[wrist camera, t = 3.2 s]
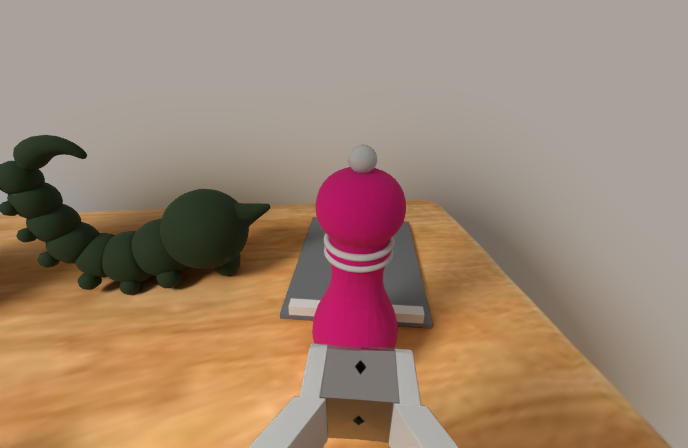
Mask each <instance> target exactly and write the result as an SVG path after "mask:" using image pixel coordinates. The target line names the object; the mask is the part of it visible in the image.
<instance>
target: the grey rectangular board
mask: <svg viewBox="0 0 688 448" xmlns="http://www.w3.org/2000/svg"><path fill="white" fill-rule="evenodd" d="M324 236H325V232H324V230H323V229H322V228H321V226H320V224H319V222H318V220H317V218H314V217H313V219H312V222H311V225H310V228H309V231H308V233H307V236H306V239H305V242H304V245H303V248H302V251H301V254H300V257H299V260H298V263H297V266H296V269H295V272H294V274H293V277H292V280H291V283H290V286H289V289H288V292H287V295H286V298H285V301H284V304H283V307H282V310H281V312H280V318H283V319H299V320H314V316H300V315H289V308H288V306H289V303H290V300H291V298H293V299H309V300H321V299H322V297H323V295H324V294H325V292H326V290H327V288H328V286H329V284H330V281H331V272H332V270H331V263H330V262H329V261H328V260H327V258H326V257H325V254H324V247H325V244H324ZM393 238H394V247H393V257H392V259H391V261H390V262H389V263H388V264H387V265H386V266H385V268H384V272H383V283H384V288H385V290H386V293H387V295H388V297H389V299H390V301H391V303H392V305H406V306H422V307H423V310H424V315H425V316H424V321H423V323H407V322H397V326H402V325H403V326H404V325H405V327H420V328H432V325H433V323H432V319H431V315H430V311H429V307H428V302H427V298H426V294H425V290H424V286H423V281H422V277H421V273H420V269H419V265H418V260H417V256H416V252H415V248H414V244H413V239H412V235H411V231H410V227H409V223H408V222H403V224H402V226H401V228H400V229H399V230H398V232H397V233H396V234H395V235H394V236H393Z"/></svg>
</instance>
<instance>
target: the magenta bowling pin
mask: <svg viewBox="0 0 688 448" xmlns="http://www.w3.org/2000/svg"><path fill="white" fill-rule="evenodd" d="M348 160H349V165H350V167H348V168H345V169H342V170H339V171H337V172H335V173H334V174H332V175H331V176H329V177H328V178H327V179H326V180H325V182H324V183H323V184H322V186H321V188H320V190H319V193H318V195H317V200H316V216H317V220H318V222H319V224H320V226H321V228H322V229H323V230H324V232H325V236H324V244H325V247H324V254H325V257H326V258H327V260H328V261H329V262H330V263H331V270H332V272H331V281H330V284H329V286H328V288H327V290H326V292H325V294H324V295H323V297H322V299H321V300H320V302H319V304H318V306H317V309H316V312H315V315H314V320H313V331H312V333H313V339H314V343H315V344H327V345H339V346H350V347H377V348H394V347H395V344H396V341H397V320H396V315H395V311H394V308H393V306H392V303H391V301H390V299H389V297H388V295H387V293H386V290H385V288H384V283H383V272H384V268H385V266H386V265H387V264H388V263H389V262H390V261H391V259H392V257H393V247H394V238H393V236H394V235H395V234H396V233H397V232H398V230H399V229H400V228H401V226H402V224H403V222H404V218H405V211H406V202H405V197H404V193H403V191H402V189H401V187H400V185H399V184H398V182H397V181H396V180H395V179H394V178H393V177H392V176H391V175H389V174H387V173H386V172H384V171H382V170H379V169H376V168H375V166H376V163H377V155H376V152H375V151H374V149H372V148H371V147H370V146H368V145H358V146H356V147H355V148H353V149H352V151H351V152H350V154H349V158H348Z"/></svg>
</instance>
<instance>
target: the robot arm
mask: <svg viewBox="0 0 688 448" xmlns="http://www.w3.org/2000/svg"><path fill="white" fill-rule="evenodd" d="M328 438H343V439H360V440H369V441H378V442H387V443H389V444H388V445H389V446H390V448H459V447H458V446H457V445H456V444H455V442H454V441H453V440H452V438H451V437H450V436H449V434H448V433H447V432H446V430H445V429H444V428H443V426H442V425H441V424H440V423H439V421H438V420H437V419H436V417H435V416H434V415H433V413H432V412H431V411H430V409H429V408H428V407H427V406H423V405H421V400H420V394H419V387H418V381H417V374H416V368H415V361H414V355H413V352H412V350H408V349H394V348H377V347H350V346H339V345H327V344H314V343H312V344H311V346H310V348H309V353H308V358H307V363H306V368H305V373H304V377H303V382H302V387H301V392H300V396H294V397H293V398H292V400H291V401H290V402H289V403H288V404H287V405H286V406H285V407H284V408H283V410H282V411H281V412H280V413H279V414H278V415H277V416H276V417H275V418H274V420H273V421H272V422H271V423H270V424H269V425H268V426H267V427H266V429H265V430H264V431H263V432H262V433H261V434H260V435H259V436H258V437H257V439H256V440H255V441H254V442H253V443H252V444H251V445H250V446H249V447H248V448H323V447H324V445H325V443H326V442H327V440H328Z"/></svg>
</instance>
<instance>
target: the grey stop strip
mask: <svg viewBox="0 0 688 448" xmlns="http://www.w3.org/2000/svg"><path fill="white" fill-rule="evenodd" d="M319 302H320V300H309V299H293V298H291V300H290V303H289V306H288V308H289V315H300V316H314V315H315V312H316V309H317V306H318V304H319ZM392 306H393V308H394V311H395V315H396V320H397V322H407V323H423V321H424V316H425V315H424V310H423V307H422V306H406V305H392ZM402 326H403V325H402ZM404 326H405V325H404Z"/></svg>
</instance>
